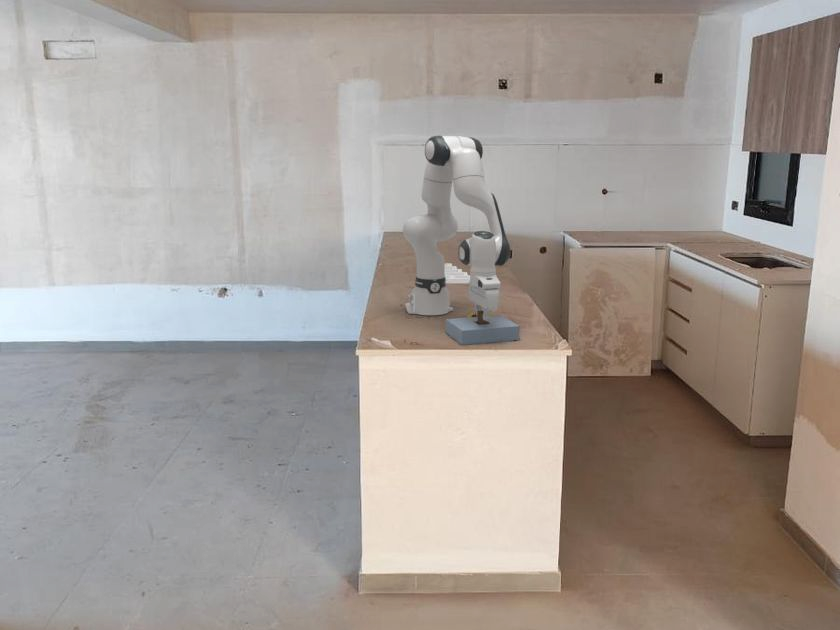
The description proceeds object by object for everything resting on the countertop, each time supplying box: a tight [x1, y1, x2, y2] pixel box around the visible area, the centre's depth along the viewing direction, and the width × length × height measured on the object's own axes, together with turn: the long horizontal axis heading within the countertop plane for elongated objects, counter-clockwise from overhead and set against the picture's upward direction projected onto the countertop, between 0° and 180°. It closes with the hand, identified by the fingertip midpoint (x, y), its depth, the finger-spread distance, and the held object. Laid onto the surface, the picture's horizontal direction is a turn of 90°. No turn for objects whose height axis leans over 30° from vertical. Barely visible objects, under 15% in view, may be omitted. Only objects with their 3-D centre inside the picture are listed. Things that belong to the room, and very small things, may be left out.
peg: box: [477, 309, 487, 325], centre depth 258 cm, size 3×3×9 cm
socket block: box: [445, 314, 521, 346], centre depth 258 cm, size 17×21×5 cm
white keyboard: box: [445, 262, 470, 284], centre depth 376 cm, size 45×18×3 cm, turn 0°
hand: (482, 318), depth 257 cm, fingers open, 5 cm apart
